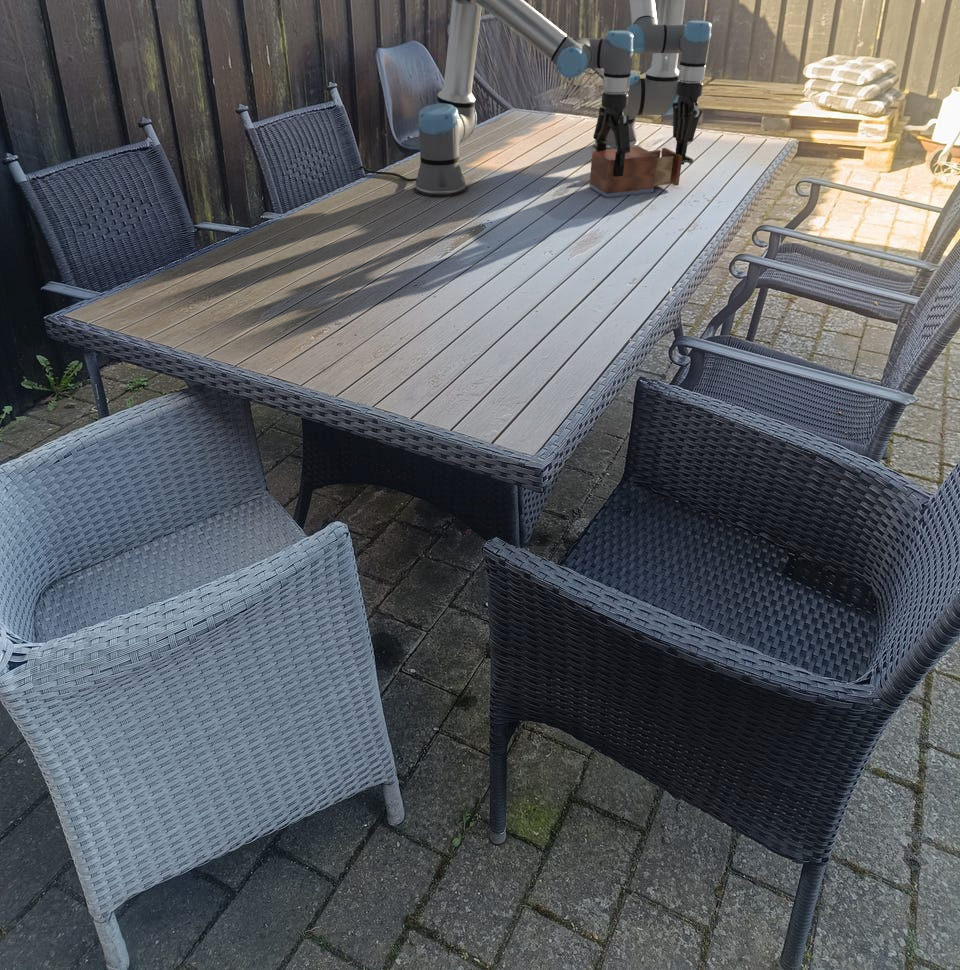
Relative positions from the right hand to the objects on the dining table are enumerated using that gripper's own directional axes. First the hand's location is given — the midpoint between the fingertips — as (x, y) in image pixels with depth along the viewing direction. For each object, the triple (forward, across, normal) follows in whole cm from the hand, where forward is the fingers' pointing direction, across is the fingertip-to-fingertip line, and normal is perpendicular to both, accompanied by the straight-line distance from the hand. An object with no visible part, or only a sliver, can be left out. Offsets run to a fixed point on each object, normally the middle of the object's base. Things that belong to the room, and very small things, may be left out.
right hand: (679, 164), depth 261 cm
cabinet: (+6, 0, +20) cm, 20 cm away
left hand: (0, 0, +24) cm, 24 cm away
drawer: (+5, 0, +7) cm, 9 cm away
